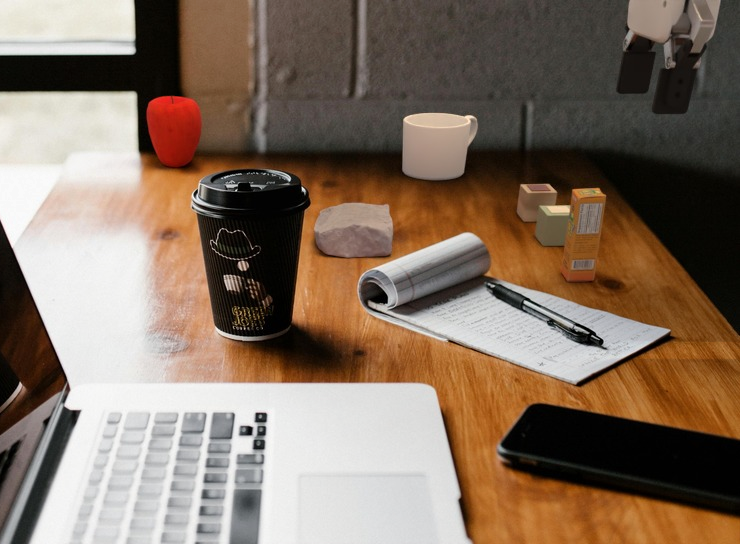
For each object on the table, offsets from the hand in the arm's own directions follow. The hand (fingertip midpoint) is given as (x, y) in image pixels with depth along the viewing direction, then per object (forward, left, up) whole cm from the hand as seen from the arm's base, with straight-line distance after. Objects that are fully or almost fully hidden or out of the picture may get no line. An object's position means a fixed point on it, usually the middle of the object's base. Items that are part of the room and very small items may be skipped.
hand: (649, 102), depth 85 cm
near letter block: (+1, -18, -20) cm, 27 cm away
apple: (+53, -57, -21) cm, 81 cm away
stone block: (+27, -18, -21) cm, 39 cm away
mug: (+10, -51, -21) cm, 56 cm away
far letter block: (+1, -27, -20) cm, 34 cm away
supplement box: (+2, -5, -21) cm, 21 cm away
